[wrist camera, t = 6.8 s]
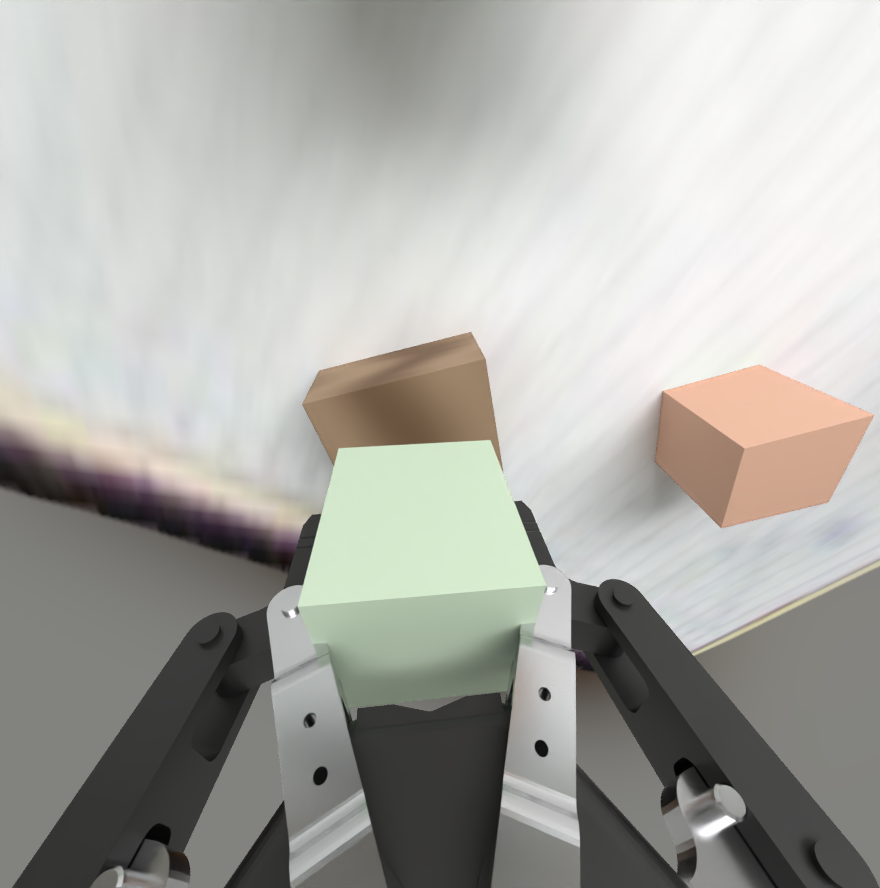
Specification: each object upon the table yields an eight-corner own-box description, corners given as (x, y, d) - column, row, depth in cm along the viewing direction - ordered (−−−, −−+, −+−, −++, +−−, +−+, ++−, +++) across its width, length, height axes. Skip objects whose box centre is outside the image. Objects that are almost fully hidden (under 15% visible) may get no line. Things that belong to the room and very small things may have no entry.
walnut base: (470, 330, 18) (485, 358, 14) (491, 452, 22) (506, 495, 19) (320, 368, 18) (302, 404, 15) (371, 480, 23) (365, 527, 19)
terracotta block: (758, 364, 20) (874, 415, 15) (737, 439, 23) (828, 502, 18) (662, 390, 21) (744, 448, 16) (654, 461, 24) (721, 528, 19)
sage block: (490, 439, 13) (546, 585, 8) (480, 540, 16) (516, 689, 11) (338, 448, 12) (297, 607, 7) (359, 549, 16) (339, 709, 11)
